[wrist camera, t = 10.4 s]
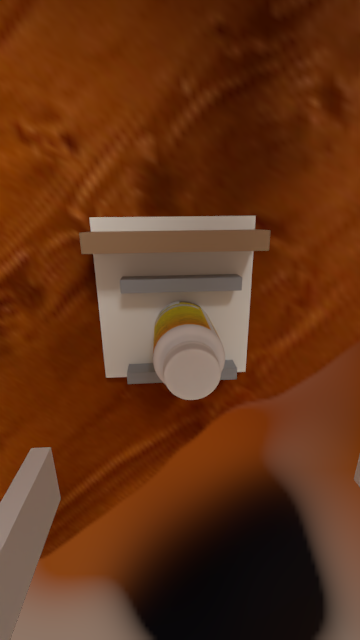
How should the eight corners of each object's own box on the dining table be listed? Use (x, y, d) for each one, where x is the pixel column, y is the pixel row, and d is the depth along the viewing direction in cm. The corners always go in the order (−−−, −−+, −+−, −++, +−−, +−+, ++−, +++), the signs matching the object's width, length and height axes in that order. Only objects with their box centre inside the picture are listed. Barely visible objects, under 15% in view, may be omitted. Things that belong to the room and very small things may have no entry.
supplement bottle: (143, 322, 29) (134, 371, 19) (186, 287, 28) (200, 320, 18) (177, 360, 31) (185, 424, 21) (219, 329, 30) (248, 379, 20)
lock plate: (91, 217, 27) (77, 216, 22) (252, 216, 27) (271, 214, 23) (107, 373, 32) (98, 399, 27) (243, 367, 32) (257, 391, 28)
